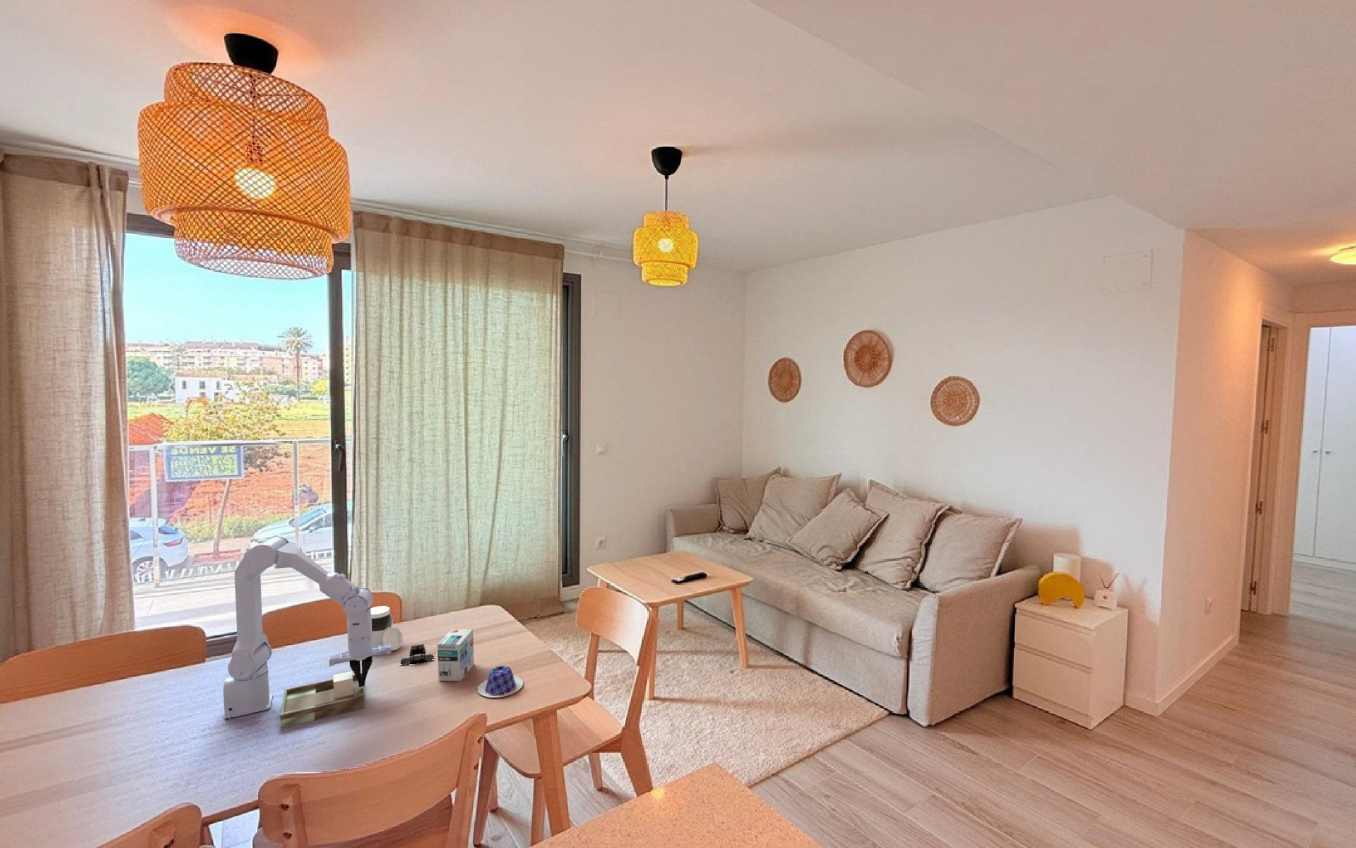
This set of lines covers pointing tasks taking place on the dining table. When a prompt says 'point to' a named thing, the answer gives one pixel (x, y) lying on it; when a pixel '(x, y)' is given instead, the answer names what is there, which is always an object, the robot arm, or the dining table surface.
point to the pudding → (500, 682)
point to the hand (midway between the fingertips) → (361, 685)
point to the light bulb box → (455, 655)
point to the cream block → (343, 684)
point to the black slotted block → (417, 659)
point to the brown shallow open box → (317, 702)
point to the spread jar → (384, 628)
